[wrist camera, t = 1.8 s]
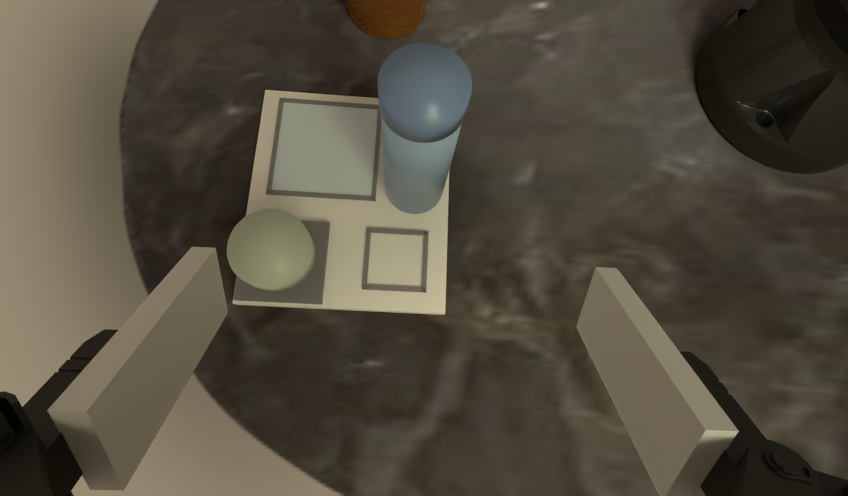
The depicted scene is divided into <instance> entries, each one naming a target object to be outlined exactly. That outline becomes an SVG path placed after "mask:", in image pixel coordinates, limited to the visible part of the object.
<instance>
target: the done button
mask: <svg viewBox="0 0 848 496" xmlns="http://www.w3.org/2000/svg"><path fill="white" fill-rule="evenodd" d="M227 258H228V262H229V265H230V267H231V269H232V270H233V272H234V273H235V274H236V275H237V276H238V277H239V278H240V279H241V280H243V281H244V282H246V283H248V284H250V285H252V286H254V287H256V288H258V289H260V290H262V291H266V292H283V291H287V290H290V289H292V288H294V287H296V286H298V285H299V284H300V283H302V282H303V281H304V280H305V279H306V278H307V277H308V275H309V274H310V272H311V270H312V268H313V266H314V263H315V258H316V248H315V244H314V241H313V238H312V237H311V235H310V233H309V232H308V230H307V229H306V227H305V226H304V225H303V223H302V222H301V221H300V220H299V219H298V218H297V217H296V216H294V215H293V214H291V213H289V212H287V211H284V210H280V209H262V210H258V211H255V212H253V213H251V214H249V215H247V216H246V217H244V218H243V219H242V220H241V221H240V222H239V223H238V224H237V225H236V226H235V227H234V229H233V230H232V232H231V234H230V237H229V239H228V243H227Z"/></svg>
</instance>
